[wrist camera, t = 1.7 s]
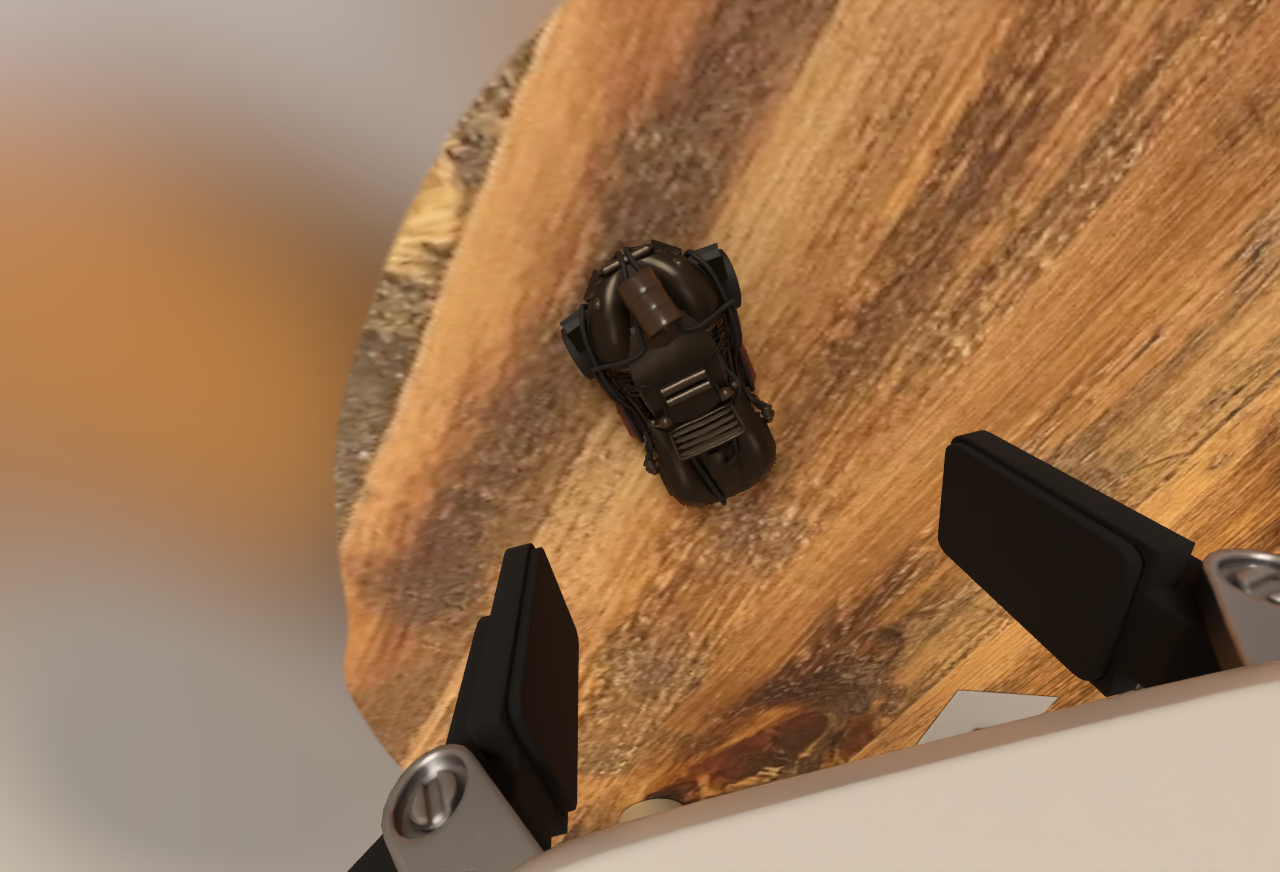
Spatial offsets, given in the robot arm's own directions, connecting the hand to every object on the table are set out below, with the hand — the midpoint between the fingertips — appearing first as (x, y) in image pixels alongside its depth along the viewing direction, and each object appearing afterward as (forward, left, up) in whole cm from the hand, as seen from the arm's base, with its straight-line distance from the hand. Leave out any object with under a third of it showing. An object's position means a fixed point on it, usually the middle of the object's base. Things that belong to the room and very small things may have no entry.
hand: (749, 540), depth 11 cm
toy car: (0, 0, -9) cm, 9 cm away
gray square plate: (+30, +16, -9) cm, 35 cm away
